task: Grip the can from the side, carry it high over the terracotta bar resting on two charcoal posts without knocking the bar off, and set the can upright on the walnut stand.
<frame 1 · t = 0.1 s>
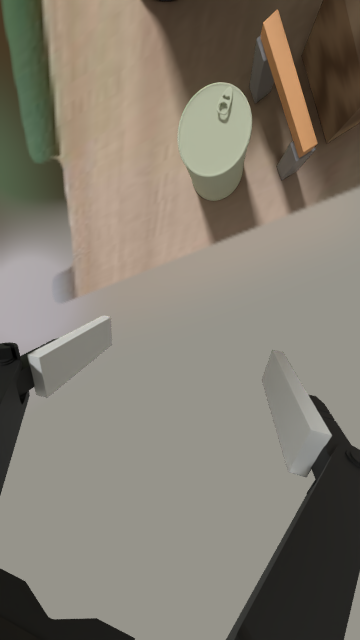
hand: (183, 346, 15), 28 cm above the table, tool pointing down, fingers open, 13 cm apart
can: (216, 171, 33), on the table
hurdle posts: (273, 130, 30), on the table
terracotta bar: (287, 96, 23), point 7 cm above the table, touching hurdle posts
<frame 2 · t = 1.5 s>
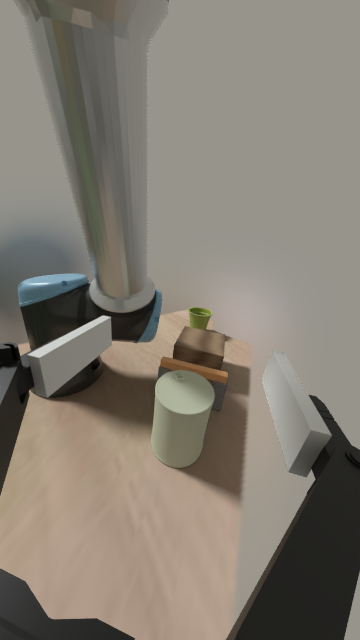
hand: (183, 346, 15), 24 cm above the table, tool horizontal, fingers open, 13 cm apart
plant pot: (197, 331, 74), on the table
can: (176, 439, 33), on the table
walnut stand: (196, 366, 52), on the table
hurdle posts: (188, 397, 41), on the table
terracotta bar: (192, 372, 39), point 7 cm above the table, touching hurdle posts
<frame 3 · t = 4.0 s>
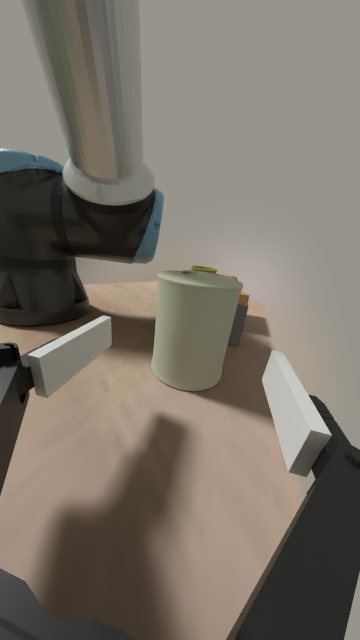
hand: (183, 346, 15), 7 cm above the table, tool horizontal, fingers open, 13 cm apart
plant pot: (200, 292, 66), on the table
can: (186, 367, 24), on the table
hurdle posts: (196, 334, 33), on the table
terracotta bar: (203, 297, 31), point 7 cm above the table, touching hurdle posts
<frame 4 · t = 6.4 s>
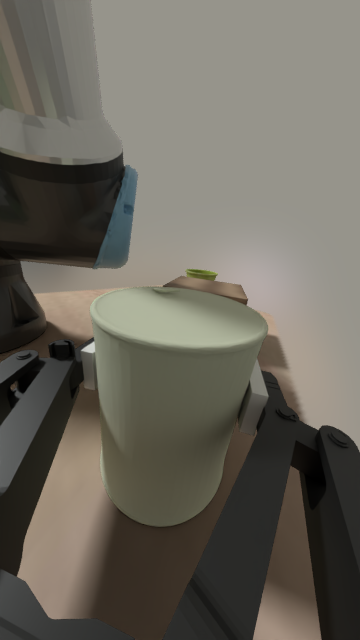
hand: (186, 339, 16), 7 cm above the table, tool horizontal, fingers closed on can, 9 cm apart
plant pot: (197, 300, 57), on the table
can: (163, 446, 14), on the table, touching gripper
walnut stand: (199, 332, 34), on the table
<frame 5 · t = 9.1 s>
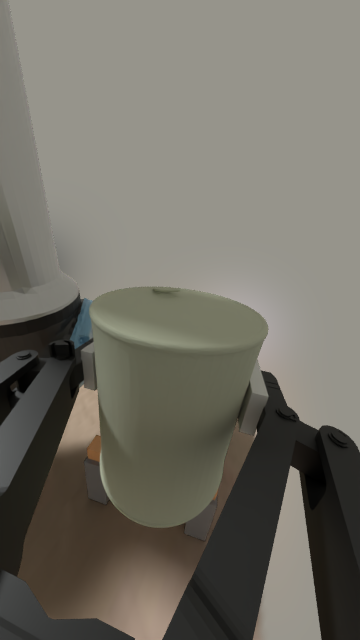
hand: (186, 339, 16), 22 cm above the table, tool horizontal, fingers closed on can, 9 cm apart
can: (163, 446, 14), point 15 cm above the table, touching gripper
hurdle posts: (147, 505, 22), on the table
when the fingers open (17 cm above the table, at t = 11.7 s): can drops 1 cm, resting on walnut stand.
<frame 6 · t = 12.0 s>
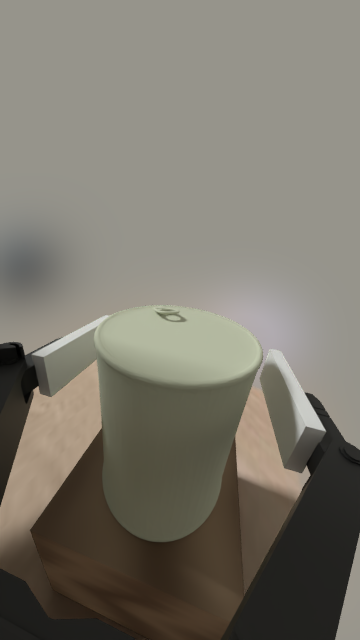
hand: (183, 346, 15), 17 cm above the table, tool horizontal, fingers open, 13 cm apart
can: (163, 459, 15), point 9 cm above the table, touching walnut stand
walnut stand: (155, 514, 18), on the table
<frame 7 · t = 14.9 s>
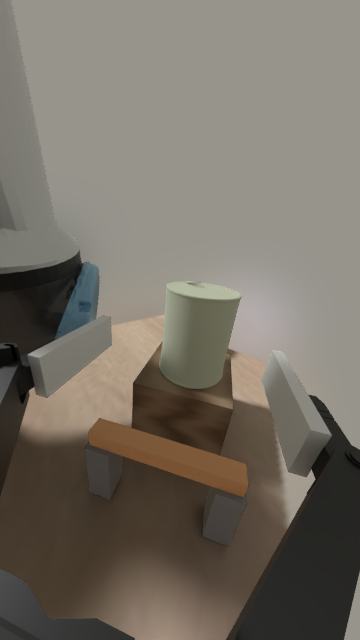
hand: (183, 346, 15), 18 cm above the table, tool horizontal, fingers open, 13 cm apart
can: (190, 367, 27), point 9 cm above the table, touching walnut stand
walnut stand: (182, 411, 30), on the table
hurdle posts: (158, 502, 19), on the table
terracotta bar: (163, 459, 17), point 7 cm above the table, touching hurdle posts
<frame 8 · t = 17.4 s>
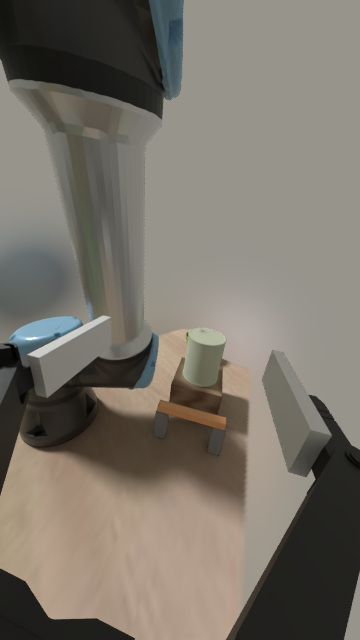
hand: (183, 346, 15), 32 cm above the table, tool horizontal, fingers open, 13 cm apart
can: (199, 375, 48), point 9 cm above the table, touching walnut stand
walnut stand: (194, 400, 52), on the table
hurdle posts: (186, 440, 41), on the table
terracotta bar: (190, 417, 38), point 7 cm above the table, touching hurdle posts
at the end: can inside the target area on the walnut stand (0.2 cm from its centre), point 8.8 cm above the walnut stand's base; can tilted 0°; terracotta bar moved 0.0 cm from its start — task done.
